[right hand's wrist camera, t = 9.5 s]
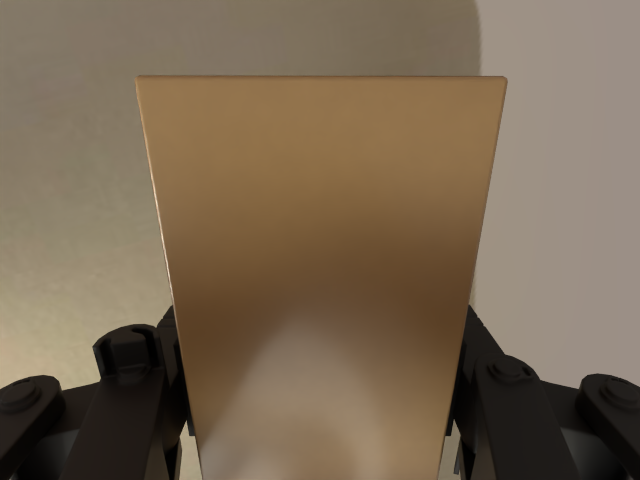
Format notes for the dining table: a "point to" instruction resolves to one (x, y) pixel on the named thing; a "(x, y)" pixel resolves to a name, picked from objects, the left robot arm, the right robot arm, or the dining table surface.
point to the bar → (320, 262)
